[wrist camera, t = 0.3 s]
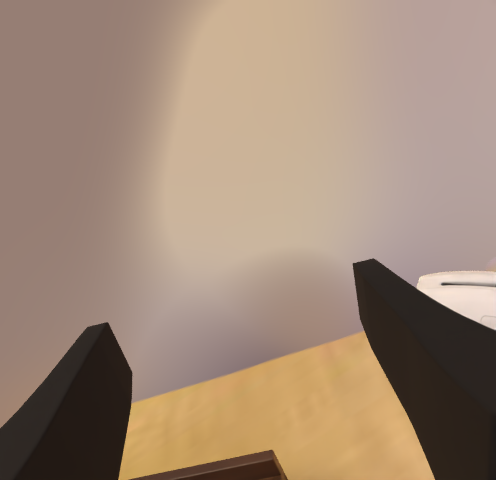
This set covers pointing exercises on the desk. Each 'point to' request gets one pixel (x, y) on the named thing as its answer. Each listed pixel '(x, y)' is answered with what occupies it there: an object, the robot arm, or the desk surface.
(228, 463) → the display stand
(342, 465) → the desk surface
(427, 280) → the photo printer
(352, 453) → the desk surface
